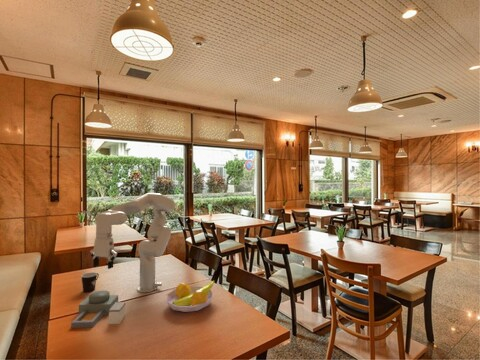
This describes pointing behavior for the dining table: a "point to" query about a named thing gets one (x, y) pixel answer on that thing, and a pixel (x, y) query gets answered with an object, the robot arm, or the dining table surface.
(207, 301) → the fruit bowl
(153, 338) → the dining table surface
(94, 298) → the domed grey panel
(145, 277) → the robot arm
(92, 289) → the coffee mug
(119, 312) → the grey bevelled box
